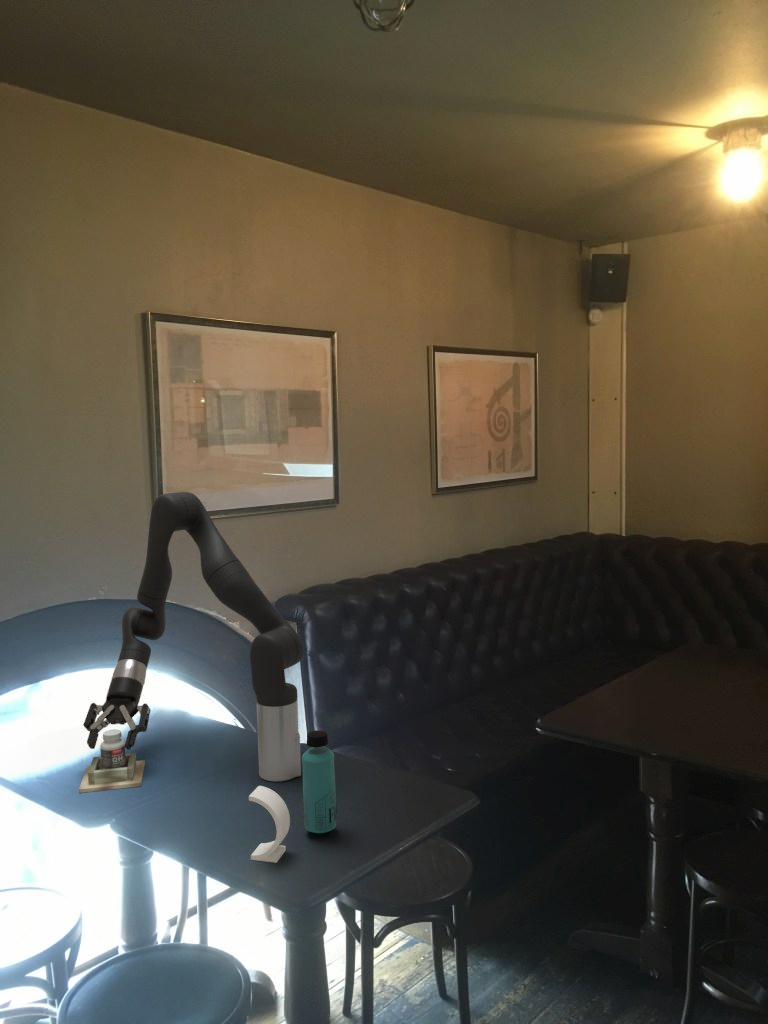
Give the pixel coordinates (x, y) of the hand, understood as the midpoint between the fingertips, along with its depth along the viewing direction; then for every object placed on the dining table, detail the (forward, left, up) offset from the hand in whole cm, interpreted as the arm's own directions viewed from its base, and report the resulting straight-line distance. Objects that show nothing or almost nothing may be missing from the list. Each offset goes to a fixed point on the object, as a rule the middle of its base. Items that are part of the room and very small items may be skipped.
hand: (109, 747), depth 182 cm
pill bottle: (-1, -1, -7) cm, 7 cm away
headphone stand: (-32, +43, -8) cm, 54 cm away
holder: (0, -1, -7) cm, 8 cm away
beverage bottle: (-42, +37, -8) cm, 57 cm away
